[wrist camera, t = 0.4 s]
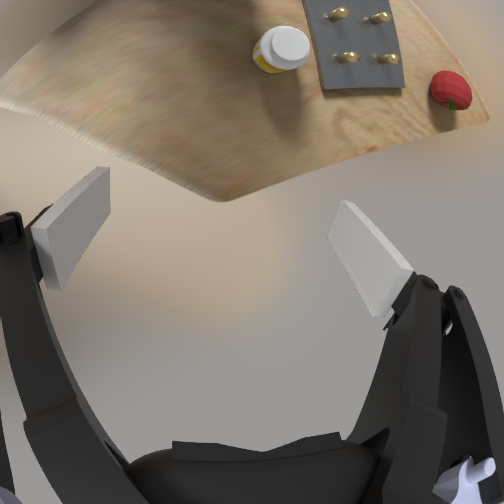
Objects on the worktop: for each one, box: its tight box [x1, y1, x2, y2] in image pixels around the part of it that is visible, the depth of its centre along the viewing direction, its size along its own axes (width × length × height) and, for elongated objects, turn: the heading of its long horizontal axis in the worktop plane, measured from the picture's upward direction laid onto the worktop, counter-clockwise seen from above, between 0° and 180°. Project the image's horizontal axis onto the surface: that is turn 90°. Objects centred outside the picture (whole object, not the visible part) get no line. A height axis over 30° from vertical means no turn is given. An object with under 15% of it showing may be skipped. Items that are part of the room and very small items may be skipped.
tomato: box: [430, 71, 472, 113], centre depth 29 cm, size 8×8×8 cm
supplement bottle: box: [253, 26, 310, 73], centre depth 25 cm, size 6×6×10 cm
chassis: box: [302, 0, 405, 90], centre depth 25 cm, size 16×14×5 cm
